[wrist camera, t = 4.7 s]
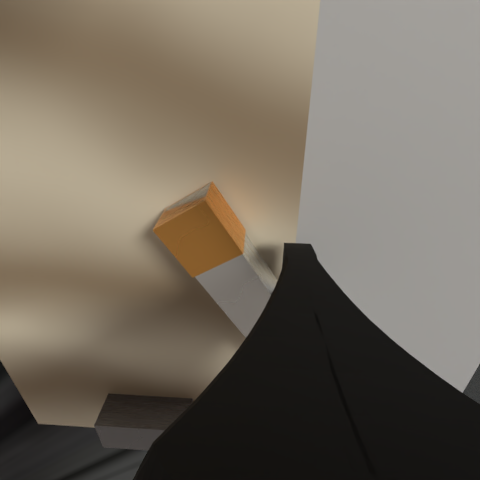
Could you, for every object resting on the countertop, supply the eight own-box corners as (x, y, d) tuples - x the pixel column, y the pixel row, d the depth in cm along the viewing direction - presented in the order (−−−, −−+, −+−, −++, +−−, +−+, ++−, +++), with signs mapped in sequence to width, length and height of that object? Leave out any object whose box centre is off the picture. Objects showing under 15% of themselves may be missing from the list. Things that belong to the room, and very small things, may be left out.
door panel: (274, 411, 18) (275, 439, 16) (54, 397, 18) (38, 423, 17) (312, 2, 8) (321, -6, 7) (-145, 7, 9) (-213, 2, 8)
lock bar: (376, 407, 14) (386, 441, 13) (324, 420, 15) (329, 453, 14) (223, 174, 9) (216, 194, 8) (156, 212, 10) (141, 236, 9)
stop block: (195, 420, 16) (189, 453, 15) (116, 415, 16) (103, 447, 15) (192, 398, 15) (185, 431, 14) (108, 393, 15) (93, 425, 14)
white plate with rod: (416, 419, 17) (428, 450, 16) (274, 411, 18) (275, 439, 16) (627, -2, 8) (699, -10, 6) (312, 2, 8) (321, -6, 7)
